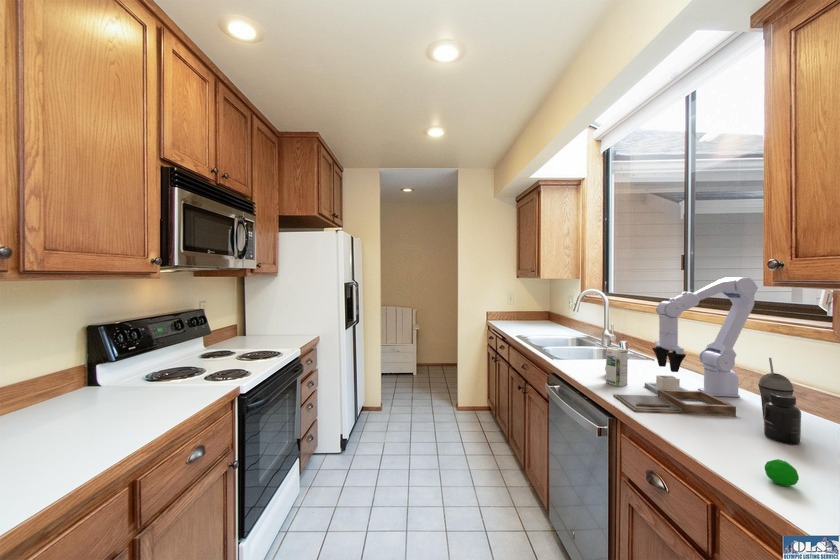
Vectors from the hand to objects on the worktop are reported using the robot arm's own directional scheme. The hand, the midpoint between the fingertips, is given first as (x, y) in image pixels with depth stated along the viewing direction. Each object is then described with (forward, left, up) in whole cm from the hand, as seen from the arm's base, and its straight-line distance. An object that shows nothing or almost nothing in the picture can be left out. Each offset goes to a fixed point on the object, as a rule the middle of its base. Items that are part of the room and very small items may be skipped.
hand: (668, 369), depth 132 cm
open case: (+8, +15, -9) cm, 19 cm away
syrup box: (+15, -8, -9) cm, 19 cm away
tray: (0, 0, -9) cm, 9 cm away
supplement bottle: (-7, +38, -9) cm, 40 cm away
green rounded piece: (+12, +60, -9) cm, 62 cm away
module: (0, 0, -8) cm, 8 cm away
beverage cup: (-12, +30, -9) cm, 33 cm away
